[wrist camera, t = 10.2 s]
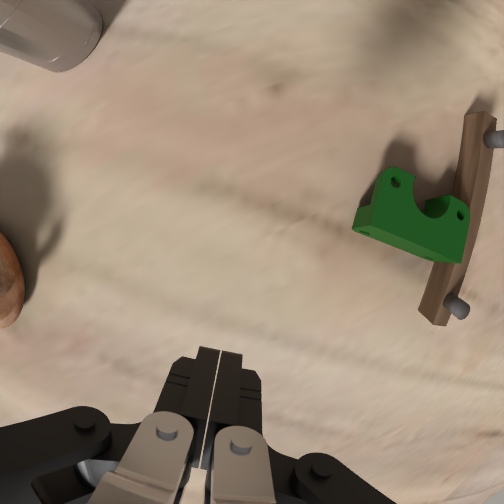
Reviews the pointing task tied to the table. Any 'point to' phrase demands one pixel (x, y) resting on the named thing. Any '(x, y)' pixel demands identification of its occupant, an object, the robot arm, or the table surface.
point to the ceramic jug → (10, 284)
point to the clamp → (414, 219)
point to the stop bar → (473, 195)
